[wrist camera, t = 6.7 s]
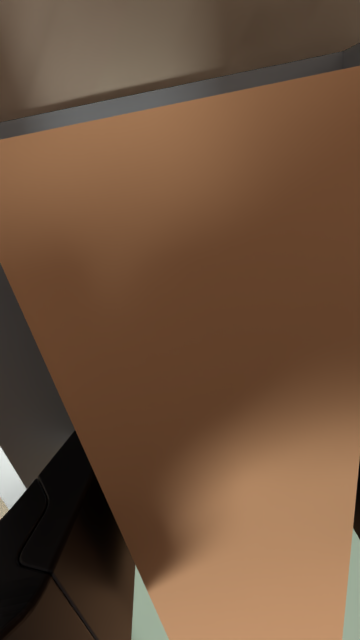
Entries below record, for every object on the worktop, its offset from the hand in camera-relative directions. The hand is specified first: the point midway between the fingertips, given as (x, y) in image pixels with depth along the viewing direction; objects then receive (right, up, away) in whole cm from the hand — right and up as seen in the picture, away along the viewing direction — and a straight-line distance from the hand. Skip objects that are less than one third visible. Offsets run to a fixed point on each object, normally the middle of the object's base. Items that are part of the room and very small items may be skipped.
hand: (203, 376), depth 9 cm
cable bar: (0, 0, +1) cm, 1 cm away
